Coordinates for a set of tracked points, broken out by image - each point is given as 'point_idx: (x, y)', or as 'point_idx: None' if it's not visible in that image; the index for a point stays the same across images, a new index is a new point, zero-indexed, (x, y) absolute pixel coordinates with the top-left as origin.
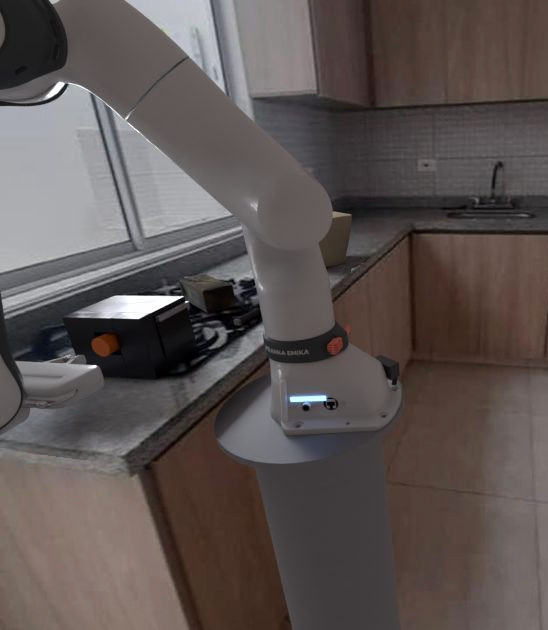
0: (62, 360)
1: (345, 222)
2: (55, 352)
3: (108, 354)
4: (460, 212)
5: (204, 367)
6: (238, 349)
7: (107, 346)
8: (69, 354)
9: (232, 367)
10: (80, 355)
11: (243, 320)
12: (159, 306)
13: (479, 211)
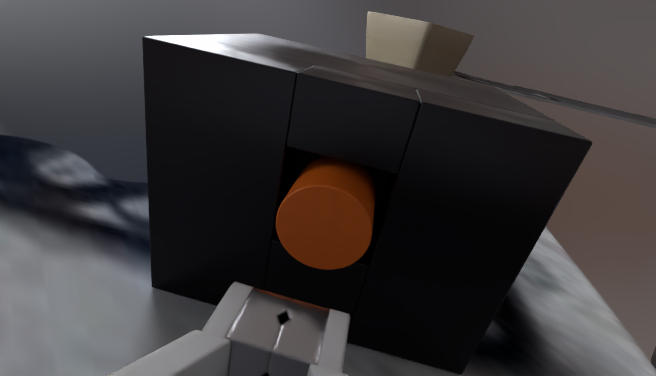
0: (223, 355)
1: (465, 44)
2: (26, 155)
3: (345, 266)
4: (466, 76)
5: (544, 326)
6: (533, 257)
7: (364, 234)
8: (247, 289)
9: (634, 345)
10: (345, 322)
11: None
12: (510, 101)
13: (485, 80)
